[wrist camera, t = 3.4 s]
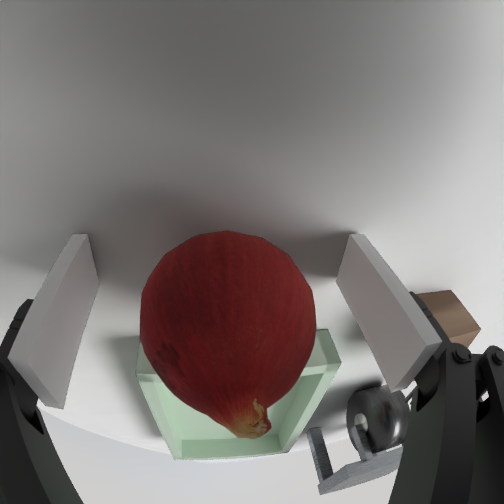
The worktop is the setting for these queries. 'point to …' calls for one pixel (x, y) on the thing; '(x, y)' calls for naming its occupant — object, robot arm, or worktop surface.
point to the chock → (451, 316)
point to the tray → (221, 439)
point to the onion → (228, 327)
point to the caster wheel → (365, 439)
